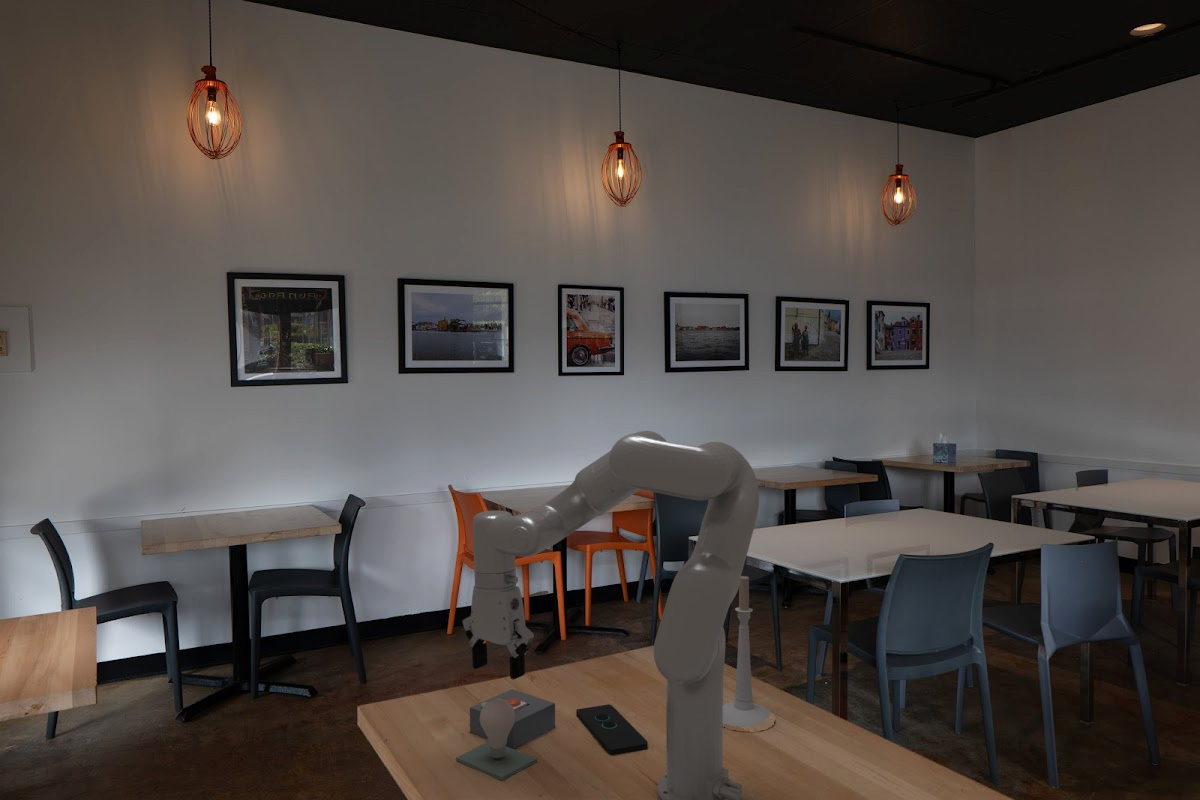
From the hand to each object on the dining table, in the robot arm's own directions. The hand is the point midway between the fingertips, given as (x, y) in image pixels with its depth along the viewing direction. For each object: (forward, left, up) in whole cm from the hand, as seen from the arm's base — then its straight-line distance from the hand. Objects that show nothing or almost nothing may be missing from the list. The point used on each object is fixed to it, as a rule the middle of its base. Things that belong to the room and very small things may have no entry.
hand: (498, 671), depth 153 cm
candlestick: (-26, -44, -17) cm, 54 cm away
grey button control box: (+8, -11, -17) cm, 22 cm away
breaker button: (+8, -11, -15) cm, 20 cm away
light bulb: (0, 0, -16) cm, 16 cm away
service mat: (+1, 0, -17) cm, 17 cm away
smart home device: (-8, -23, -18) cm, 30 cm away
